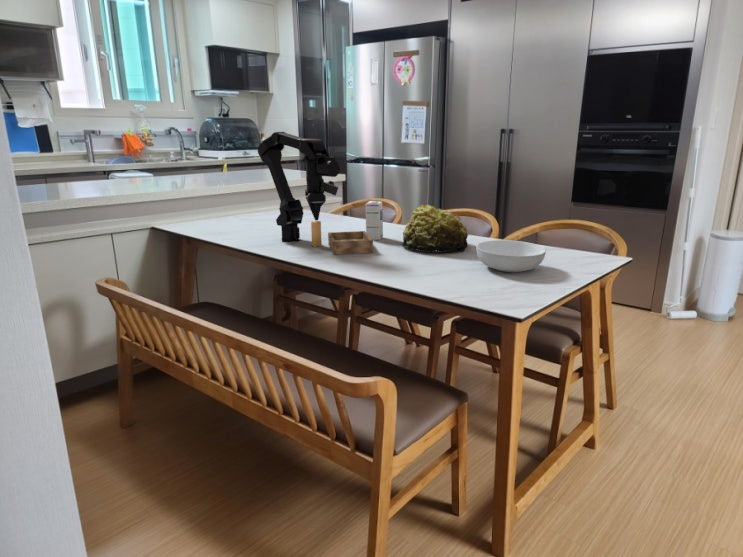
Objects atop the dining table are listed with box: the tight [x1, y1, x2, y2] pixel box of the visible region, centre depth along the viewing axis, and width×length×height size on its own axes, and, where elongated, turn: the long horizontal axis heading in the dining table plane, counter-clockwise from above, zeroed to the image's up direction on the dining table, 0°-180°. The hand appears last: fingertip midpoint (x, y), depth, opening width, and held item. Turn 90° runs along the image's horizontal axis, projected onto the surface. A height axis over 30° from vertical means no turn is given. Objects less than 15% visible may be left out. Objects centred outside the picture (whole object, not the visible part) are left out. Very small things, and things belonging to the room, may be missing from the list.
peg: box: [310, 220, 323, 247], centre depth 191 cm, size 4×4×9 cm
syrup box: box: [364, 200, 384, 241], centre depth 201 cm, size 6×6×14 cm
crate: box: [327, 230, 374, 255], centre depth 187 cm, size 14×17×4 cm
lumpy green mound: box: [401, 204, 469, 254], centre depth 187 cm, size 25×24×16 cm
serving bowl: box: [475, 239, 547, 273], centre depth 159 cm, size 21×21×7 cm
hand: (315, 218), depth 189 cm, fingers open, 9 cm apart
